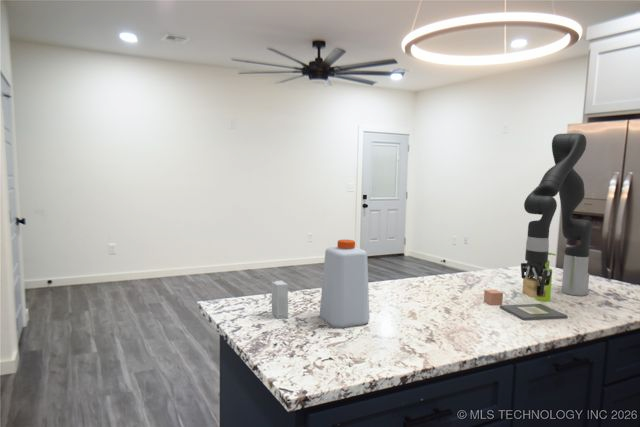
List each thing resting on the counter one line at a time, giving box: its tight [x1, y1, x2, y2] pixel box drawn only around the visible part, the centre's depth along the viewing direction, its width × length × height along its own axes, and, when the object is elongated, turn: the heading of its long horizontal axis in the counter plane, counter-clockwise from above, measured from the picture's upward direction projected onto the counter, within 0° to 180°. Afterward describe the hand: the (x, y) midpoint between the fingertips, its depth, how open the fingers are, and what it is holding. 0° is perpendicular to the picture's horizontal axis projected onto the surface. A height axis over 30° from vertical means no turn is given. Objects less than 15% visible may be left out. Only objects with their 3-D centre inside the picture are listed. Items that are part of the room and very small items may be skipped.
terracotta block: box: [483, 289, 504, 306], centre depth 167 cm, size 5×5×5 cm
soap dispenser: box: [534, 252, 557, 302], centre depth 173 cm, size 6×7×20 cm
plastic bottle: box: [319, 239, 370, 328], centre depth 143 cm, size 15×15×28 cm
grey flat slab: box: [499, 303, 568, 321], centre depth 156 cm, size 18×14×1 cm
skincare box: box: [270, 279, 289, 320], centre depth 146 cm, size 6×4×12 cm
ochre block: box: [521, 277, 546, 299], centre depth 155 cm, size 6×6×6 cm
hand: (533, 293), depth 155 cm, fingers closed on ochre block, 5 cm apart
